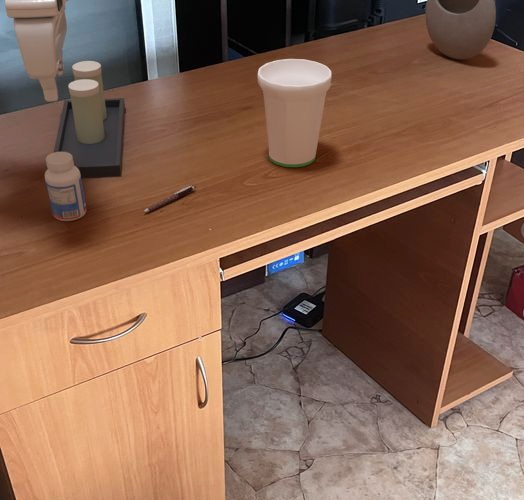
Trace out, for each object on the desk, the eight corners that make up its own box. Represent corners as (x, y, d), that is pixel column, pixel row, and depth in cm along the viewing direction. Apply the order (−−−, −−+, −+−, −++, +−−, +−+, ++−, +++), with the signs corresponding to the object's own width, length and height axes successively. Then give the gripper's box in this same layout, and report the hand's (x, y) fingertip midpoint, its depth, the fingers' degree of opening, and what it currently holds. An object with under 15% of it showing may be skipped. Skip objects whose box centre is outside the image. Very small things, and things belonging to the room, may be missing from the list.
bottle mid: (75, 144, 142) (67, 91, 136) (77, 132, 146) (69, 79, 140) (104, 143, 143) (97, 89, 136) (106, 131, 147) (99, 78, 140)
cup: (254, 142, 145) (254, 59, 135) (321, 140, 146) (325, 57, 136) (260, 174, 135) (261, 87, 125) (332, 171, 136) (338, 85, 126)
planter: (411, 50, 182) (422, -38, 170) (431, 43, 185) (444, -43, 173) (474, 73, 171) (491, -19, 159) (495, 65, 175) (513, -25, 162)
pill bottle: (66, 201, 128) (56, 146, 122) (93, 209, 126) (84, 153, 120) (45, 217, 124) (33, 160, 118) (72, 225, 122) (62, 168, 116)
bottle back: (79, 123, 149) (71, 71, 143) (81, 112, 153) (73, 61, 147) (106, 122, 150) (100, 70, 143) (107, 111, 154) (101, 60, 147)
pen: (193, 188, 131) (193, 182, 131) (197, 189, 131) (196, 184, 130) (141, 213, 125) (141, 207, 124) (144, 215, 125) (144, 209, 124)
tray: (52, 179, 134) (50, 168, 132) (66, 110, 155) (64, 100, 154) (121, 176, 135) (119, 165, 133) (125, 108, 156) (124, 97, 155)
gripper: (22, -37, 112) (40, 61, 121) (2, 8, 96) (24, 116, 105) (67, -38, 112) (81, 59, 121) (54, 6, 97) (72, 114, 106)
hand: (55, 86), depth 113 cm, fingers open, 8 cm apart
